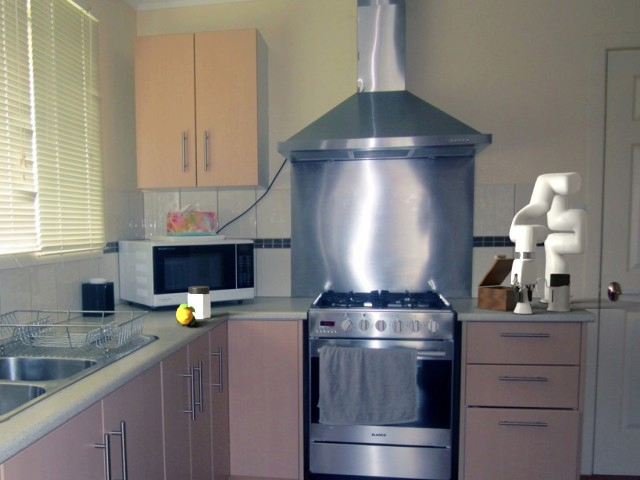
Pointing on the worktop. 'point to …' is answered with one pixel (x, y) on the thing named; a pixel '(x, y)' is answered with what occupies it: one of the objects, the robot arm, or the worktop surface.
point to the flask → (523, 304)
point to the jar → (200, 301)
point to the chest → (497, 298)
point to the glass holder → (558, 292)
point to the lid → (498, 271)
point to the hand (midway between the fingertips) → (523, 301)
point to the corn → (185, 314)
